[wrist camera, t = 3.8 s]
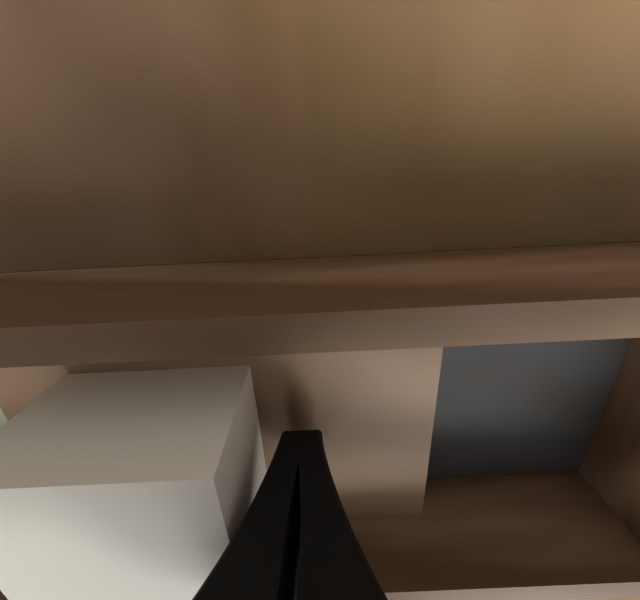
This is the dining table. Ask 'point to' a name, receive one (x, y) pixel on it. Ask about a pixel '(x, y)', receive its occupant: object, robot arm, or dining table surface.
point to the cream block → (127, 483)
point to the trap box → (401, 394)
